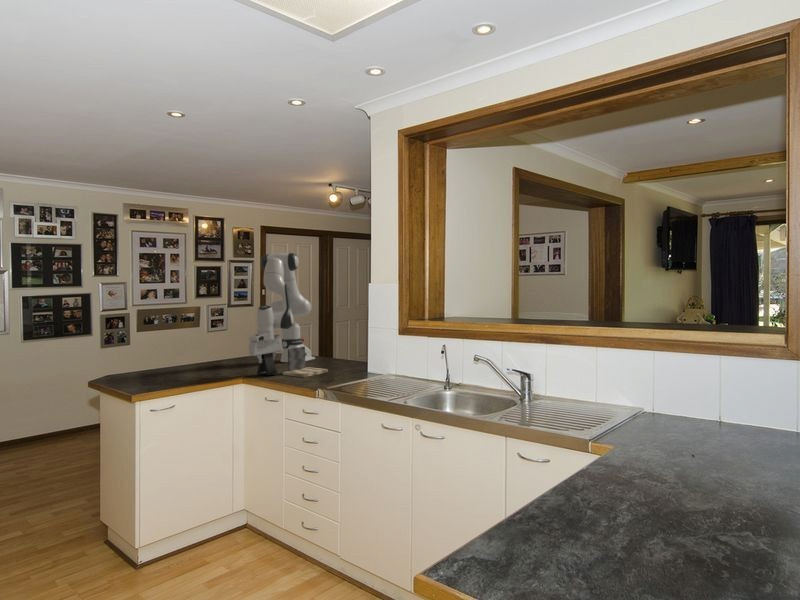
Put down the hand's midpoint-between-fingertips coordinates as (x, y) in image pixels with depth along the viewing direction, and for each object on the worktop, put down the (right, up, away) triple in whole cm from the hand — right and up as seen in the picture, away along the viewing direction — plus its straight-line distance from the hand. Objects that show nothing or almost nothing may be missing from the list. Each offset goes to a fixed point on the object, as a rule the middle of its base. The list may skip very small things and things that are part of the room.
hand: (266, 361), depth 286 cm
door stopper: (0, -7, 0) cm, 7 cm away
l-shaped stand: (+20, -7, +3) cm, 22 cm away
